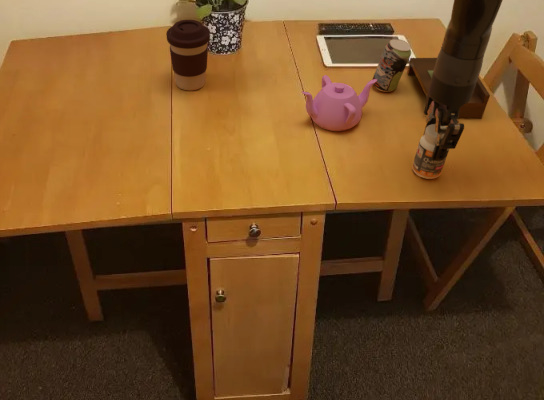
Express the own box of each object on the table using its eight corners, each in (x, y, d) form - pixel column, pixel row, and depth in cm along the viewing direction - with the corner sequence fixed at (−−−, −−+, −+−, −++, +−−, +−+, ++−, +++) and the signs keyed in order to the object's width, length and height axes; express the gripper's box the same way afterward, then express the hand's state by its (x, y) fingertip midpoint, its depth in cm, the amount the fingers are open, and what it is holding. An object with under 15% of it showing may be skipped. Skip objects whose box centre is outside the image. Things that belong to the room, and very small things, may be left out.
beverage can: (370, 80, 143) (379, 35, 135) (400, 82, 142) (411, 37, 134) (371, 94, 138) (380, 48, 130) (403, 96, 138) (414, 50, 129)
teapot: (297, 125, 129) (301, 91, 123) (323, 96, 138) (327, 62, 132) (347, 142, 124) (354, 107, 118) (371, 111, 133) (378, 77, 127)
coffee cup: (215, 75, 144) (214, 18, 134) (205, 96, 137) (203, 38, 127) (176, 70, 146) (173, 14, 136) (164, 91, 139) (160, 33, 129)
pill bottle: (419, 182, 115) (431, 141, 108) (406, 164, 119) (417, 124, 112) (446, 178, 116) (459, 137, 109) (432, 160, 120) (445, 120, 113)
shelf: (481, 118, 131) (490, 95, 127) (428, 119, 131) (435, 95, 126) (454, 72, 146) (461, 50, 141) (406, 72, 145) (412, 50, 141)
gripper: (491, 95, 97) (463, 172, 108) (463, 52, 107) (441, 127, 119) (446, 95, 97) (423, 173, 108) (423, 53, 107) (404, 127, 119)
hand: (432, 148), depth 113 cm, fingers closed on pill bottle, 5 cm apart
